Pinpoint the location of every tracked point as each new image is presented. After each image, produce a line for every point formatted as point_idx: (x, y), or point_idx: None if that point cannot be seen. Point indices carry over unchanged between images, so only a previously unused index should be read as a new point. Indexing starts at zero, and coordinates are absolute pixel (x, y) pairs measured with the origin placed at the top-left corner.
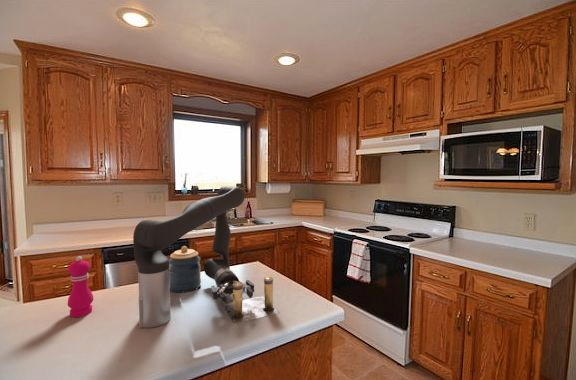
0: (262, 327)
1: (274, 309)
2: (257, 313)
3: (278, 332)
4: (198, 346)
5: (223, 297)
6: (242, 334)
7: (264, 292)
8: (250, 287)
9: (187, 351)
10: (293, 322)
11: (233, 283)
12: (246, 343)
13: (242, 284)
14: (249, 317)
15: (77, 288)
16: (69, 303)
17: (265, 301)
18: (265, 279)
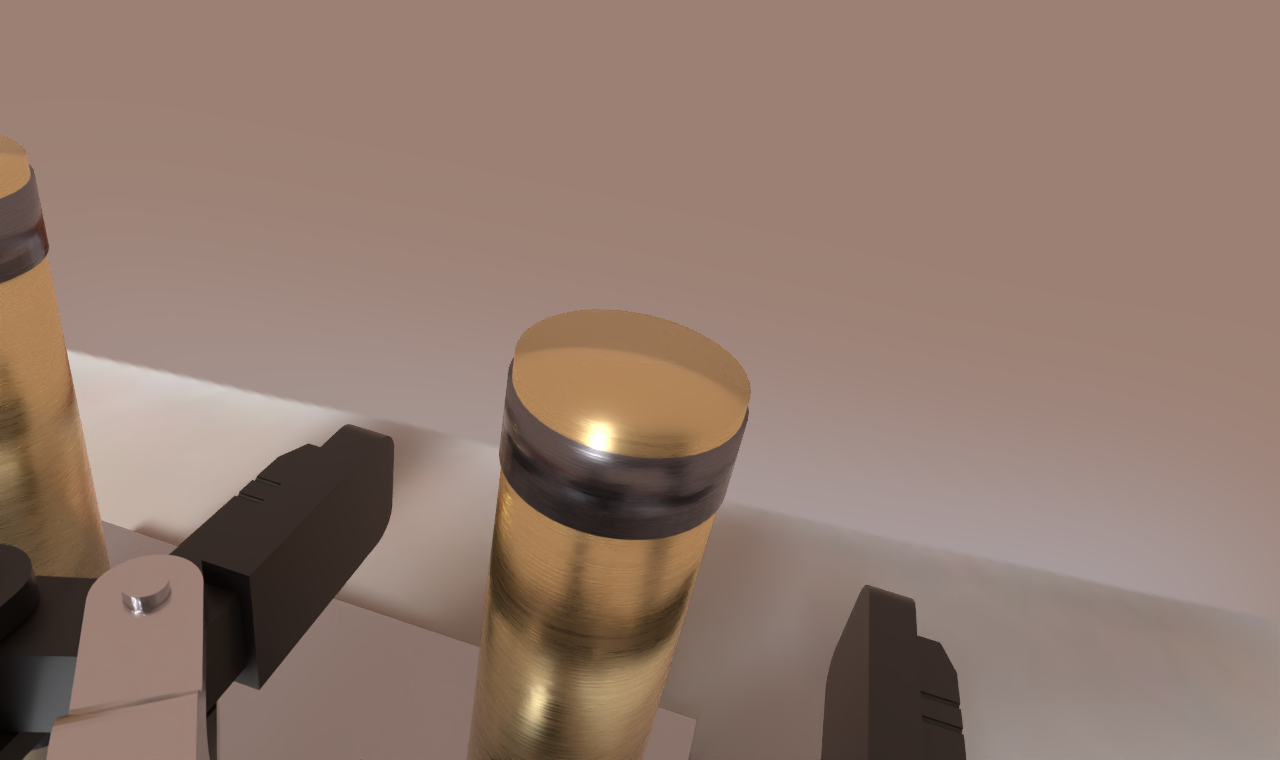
0: (441, 548)
1: None
2: (268, 697)
3: (412, 430)
4: (1122, 732)
5: (917, 636)
6: None
7: (45, 454)
8: (88, 602)
9: (1224, 738)
10: (171, 421)
11: (710, 424)
12: None
13: (177, 704)
14: (439, 694)
15: None
16: None
17: (99, 553)
18: (7, 170)
